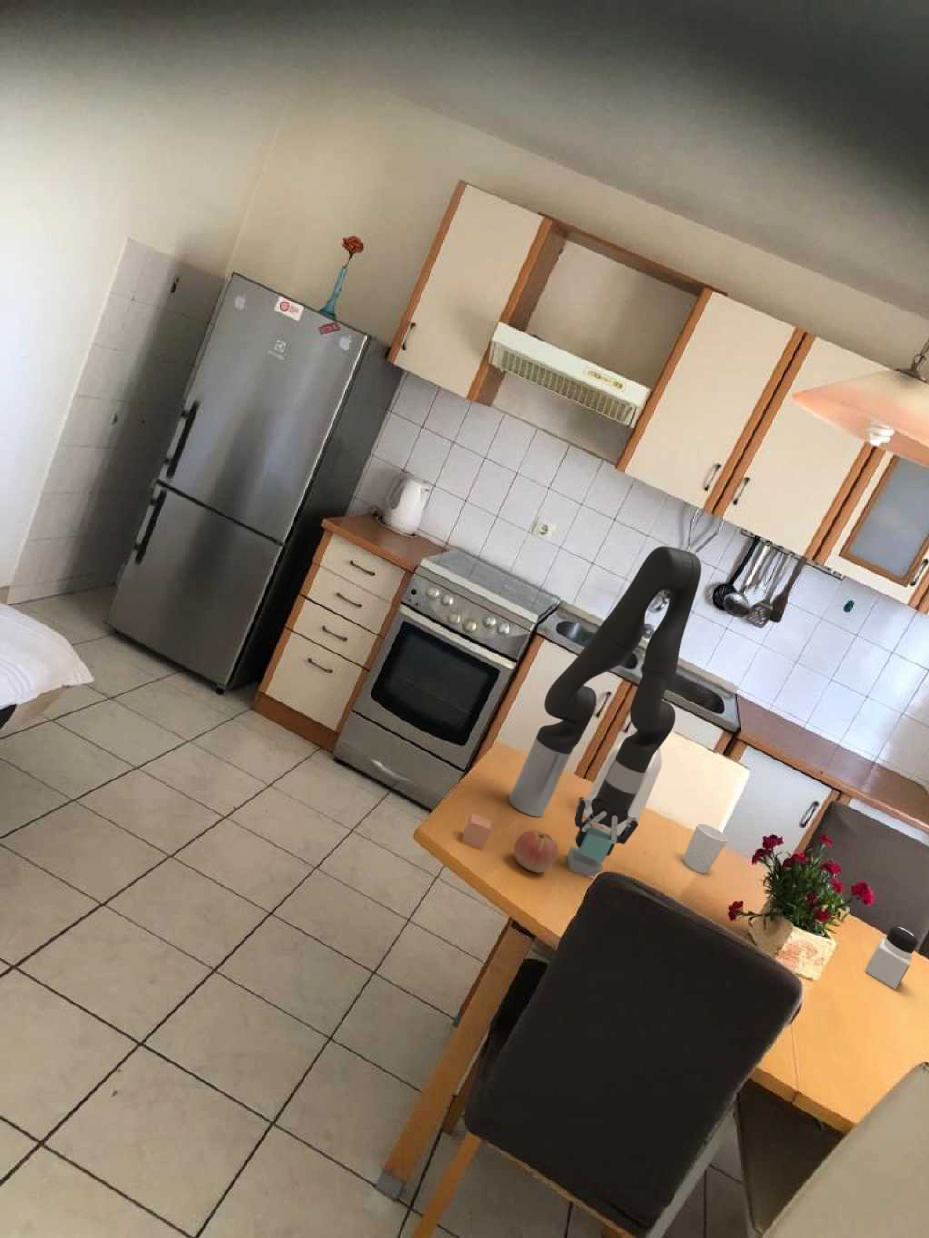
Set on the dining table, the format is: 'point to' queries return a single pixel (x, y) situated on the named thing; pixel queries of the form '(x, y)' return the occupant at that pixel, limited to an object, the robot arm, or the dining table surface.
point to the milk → (642, 793)
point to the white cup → (704, 848)
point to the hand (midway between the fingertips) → (590, 850)
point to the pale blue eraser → (583, 863)
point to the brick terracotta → (476, 831)
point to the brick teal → (595, 844)
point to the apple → (535, 850)
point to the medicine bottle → (892, 957)
